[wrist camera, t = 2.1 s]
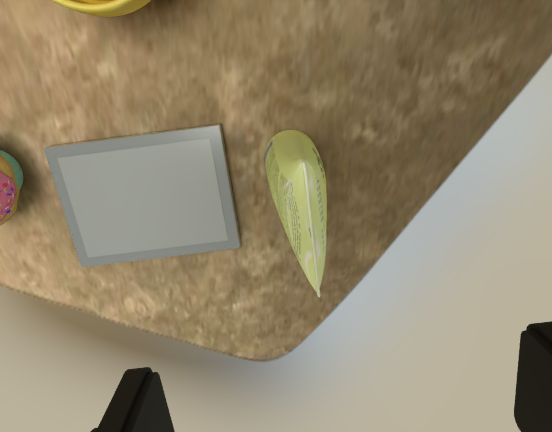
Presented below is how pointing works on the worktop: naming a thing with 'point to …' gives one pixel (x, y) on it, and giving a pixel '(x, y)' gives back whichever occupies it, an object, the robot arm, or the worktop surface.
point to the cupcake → (9, 185)
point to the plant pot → (103, 6)
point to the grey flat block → (146, 195)
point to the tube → (300, 198)
